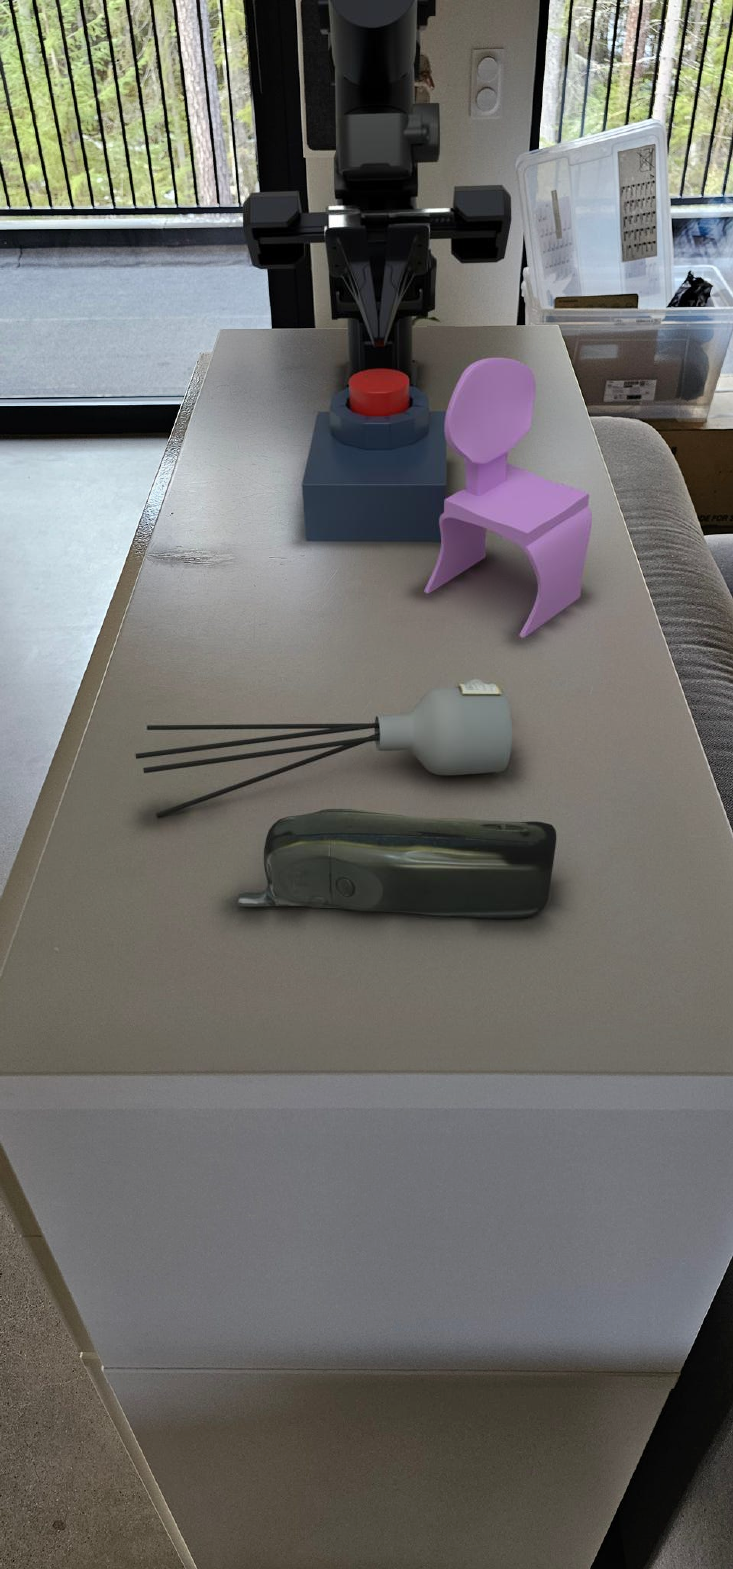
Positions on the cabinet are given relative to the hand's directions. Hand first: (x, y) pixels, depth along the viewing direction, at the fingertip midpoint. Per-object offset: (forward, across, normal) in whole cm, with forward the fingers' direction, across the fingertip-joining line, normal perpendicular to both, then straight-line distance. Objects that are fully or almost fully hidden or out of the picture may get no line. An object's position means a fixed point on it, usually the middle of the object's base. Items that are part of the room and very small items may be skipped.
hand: (379, 343), depth 78 cm
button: (+3, 0, +3) cm, 5 cm away
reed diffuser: (+32, -3, -16) cm, 36 cm away
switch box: (+10, 0, +5) cm, 11 cm away
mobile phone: (+38, 0, -23) cm, 45 cm away
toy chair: (+19, +8, -4) cm, 21 cm away
